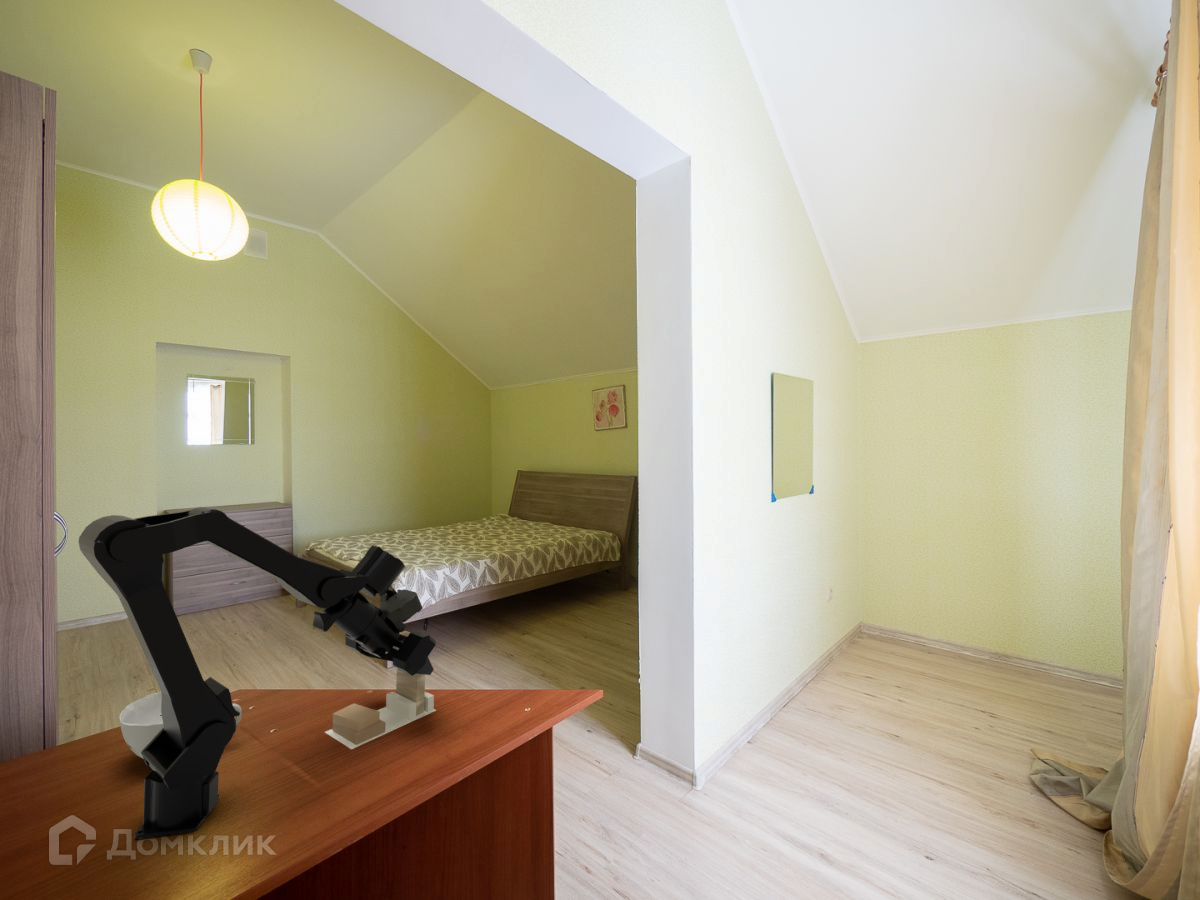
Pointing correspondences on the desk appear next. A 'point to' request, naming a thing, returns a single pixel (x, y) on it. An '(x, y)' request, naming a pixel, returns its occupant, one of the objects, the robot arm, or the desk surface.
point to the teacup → (146, 721)
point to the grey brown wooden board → (411, 686)
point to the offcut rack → (375, 719)
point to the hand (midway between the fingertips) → (417, 666)
